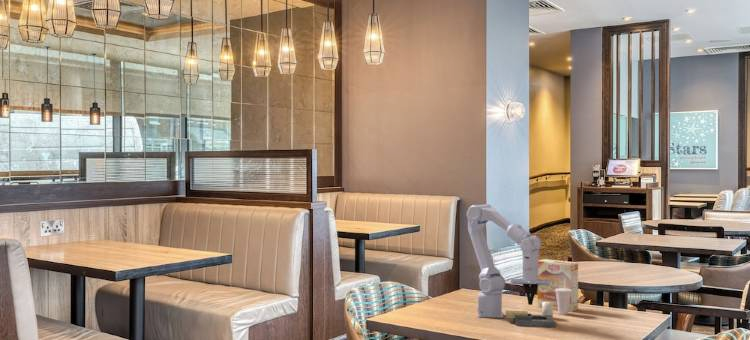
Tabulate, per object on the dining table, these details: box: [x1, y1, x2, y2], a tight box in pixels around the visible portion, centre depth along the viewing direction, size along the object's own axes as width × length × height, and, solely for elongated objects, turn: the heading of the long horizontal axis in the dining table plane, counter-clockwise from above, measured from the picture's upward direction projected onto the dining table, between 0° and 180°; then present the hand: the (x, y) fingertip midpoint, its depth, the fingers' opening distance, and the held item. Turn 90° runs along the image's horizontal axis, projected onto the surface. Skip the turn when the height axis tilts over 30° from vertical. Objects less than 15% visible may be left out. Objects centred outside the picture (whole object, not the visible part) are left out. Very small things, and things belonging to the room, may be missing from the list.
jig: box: [513, 312, 555, 328], centre depth 244 cm, size 14×10×3 cm
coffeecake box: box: [537, 258, 579, 313], centre depth 269 cm, size 15×7×20 cm, turn 49°
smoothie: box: [555, 279, 572, 316], centre depth 259 cm, size 6×6×14 cm
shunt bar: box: [505, 310, 529, 319], centre depth 245 cm, size 8×3×2 cm, turn 81°
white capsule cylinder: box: [541, 302, 554, 319], centre depth 252 cm, size 4×4×6 cm
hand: (530, 304), depth 244 cm, fingers closed
